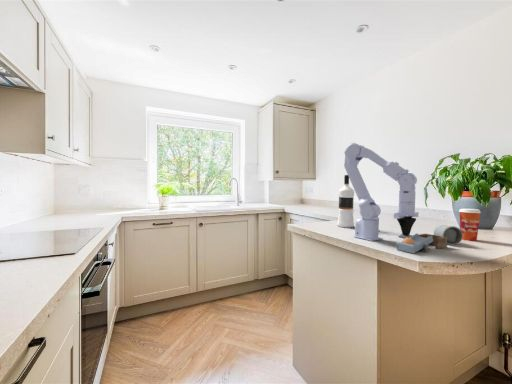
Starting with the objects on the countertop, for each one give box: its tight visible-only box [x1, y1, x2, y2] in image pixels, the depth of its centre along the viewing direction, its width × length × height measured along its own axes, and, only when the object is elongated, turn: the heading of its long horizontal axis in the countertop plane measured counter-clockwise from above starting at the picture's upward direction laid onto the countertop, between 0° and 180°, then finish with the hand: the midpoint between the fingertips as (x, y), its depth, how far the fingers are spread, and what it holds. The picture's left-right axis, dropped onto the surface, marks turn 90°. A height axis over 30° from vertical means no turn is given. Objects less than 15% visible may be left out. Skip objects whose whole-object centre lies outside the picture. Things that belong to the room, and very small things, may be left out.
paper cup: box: [458, 208, 482, 242], centre depth 111 cm, size 8×8×14 cm
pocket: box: [418, 233, 448, 250], centre depth 99 cm, size 8×7×4 cm
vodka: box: [336, 174, 355, 229], centre depth 142 cm, size 9×9×30 cm
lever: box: [395, 233, 433, 255], centre depth 95 cm, size 12×14×3 cm
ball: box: [402, 237, 414, 245], centre depth 91 cm, size 4×4×4 cm
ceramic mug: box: [433, 224, 463, 246], centre depth 105 cm, size 11×8×8 cm
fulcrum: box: [417, 244, 429, 253], centre depth 93 cm, size 8×2×3 cm, turn 30°
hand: (405, 234), depth 101 cm, fingers closed
